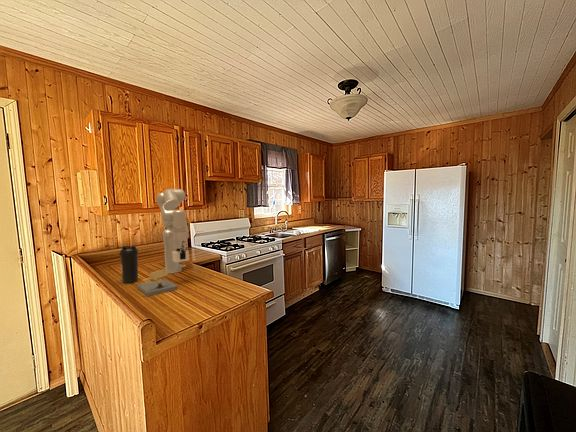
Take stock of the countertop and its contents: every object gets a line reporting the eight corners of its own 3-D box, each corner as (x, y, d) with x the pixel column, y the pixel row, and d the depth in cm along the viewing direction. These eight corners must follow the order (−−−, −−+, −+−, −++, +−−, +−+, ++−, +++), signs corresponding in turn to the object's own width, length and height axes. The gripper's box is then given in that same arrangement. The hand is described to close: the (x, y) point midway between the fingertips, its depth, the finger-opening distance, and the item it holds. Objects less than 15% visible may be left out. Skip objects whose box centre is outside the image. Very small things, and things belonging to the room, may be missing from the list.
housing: (165, 281, 164) (165, 278, 163) (177, 289, 149) (177, 285, 149) (137, 287, 152) (137, 284, 152) (147, 296, 138) (147, 292, 138)
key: (142, 291, 139) (141, 274, 139) (165, 284, 152) (165, 268, 151) (145, 292, 138) (144, 275, 138) (168, 284, 150) (167, 269, 150)
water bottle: (123, 280, 168) (121, 245, 166) (140, 278, 171) (139, 244, 170) (119, 285, 158) (117, 248, 157) (137, 282, 162) (136, 246, 160)
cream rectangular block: (185, 258, 167) (185, 249, 166) (189, 260, 162) (188, 250, 162) (172, 260, 161) (172, 251, 161) (176, 262, 157) (175, 252, 156)
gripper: (168, 229, 164) (169, 257, 165) (179, 231, 152) (180, 261, 153) (180, 228, 169) (181, 255, 170) (191, 230, 157) (192, 259, 158)
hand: (180, 258), depth 162 cm, fingers closed on cream rectangular block, 6 cm apart
